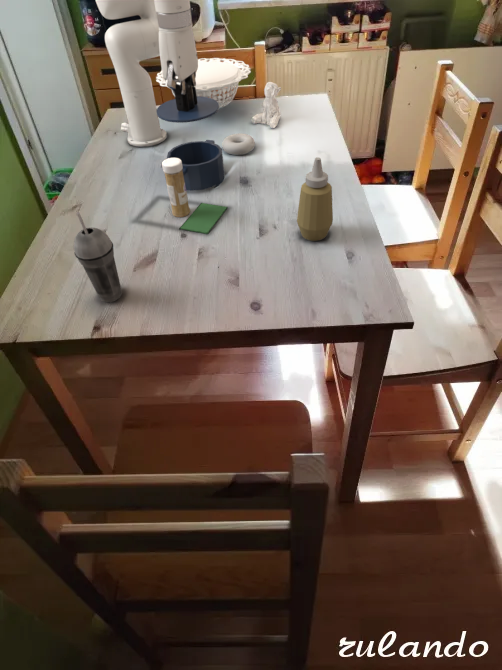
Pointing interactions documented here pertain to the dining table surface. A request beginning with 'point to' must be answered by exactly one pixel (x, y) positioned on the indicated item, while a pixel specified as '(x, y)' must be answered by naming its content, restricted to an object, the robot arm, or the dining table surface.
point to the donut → (238, 144)
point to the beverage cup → (98, 261)
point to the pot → (200, 164)
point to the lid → (196, 112)
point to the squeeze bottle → (315, 204)
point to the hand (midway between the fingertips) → (187, 106)
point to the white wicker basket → (216, 78)
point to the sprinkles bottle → (176, 186)
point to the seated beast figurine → (269, 107)
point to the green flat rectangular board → (203, 218)
